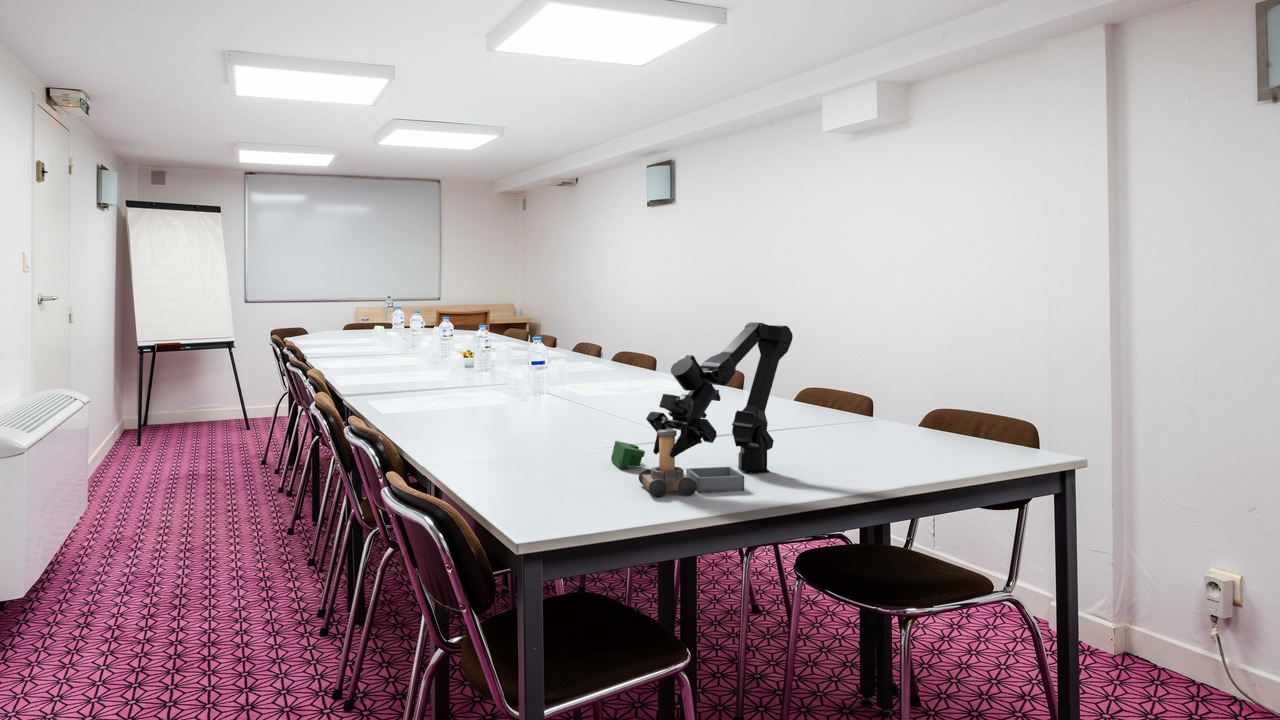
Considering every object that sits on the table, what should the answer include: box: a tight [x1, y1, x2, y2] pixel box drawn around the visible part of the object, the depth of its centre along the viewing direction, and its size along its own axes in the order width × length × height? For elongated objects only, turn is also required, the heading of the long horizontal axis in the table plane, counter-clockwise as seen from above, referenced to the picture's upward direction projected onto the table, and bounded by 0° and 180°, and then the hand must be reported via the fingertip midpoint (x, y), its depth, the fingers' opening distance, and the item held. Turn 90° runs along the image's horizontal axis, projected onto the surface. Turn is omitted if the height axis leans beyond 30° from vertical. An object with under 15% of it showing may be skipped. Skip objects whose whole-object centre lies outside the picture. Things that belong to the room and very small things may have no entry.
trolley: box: [638, 465, 697, 498], centre depth 192 cm, size 11×12×5 cm
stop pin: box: [658, 429, 678, 472], centre depth 191 cm, size 4×4×11 cm
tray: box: [685, 466, 745, 494], centre depth 196 cm, size 11×11×4 cm
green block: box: [611, 440, 646, 470], centre depth 221 cm, size 12×6×9 cm, turn 8°
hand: (662, 454), depth 190 cm, fingers open, 5 cm apart
